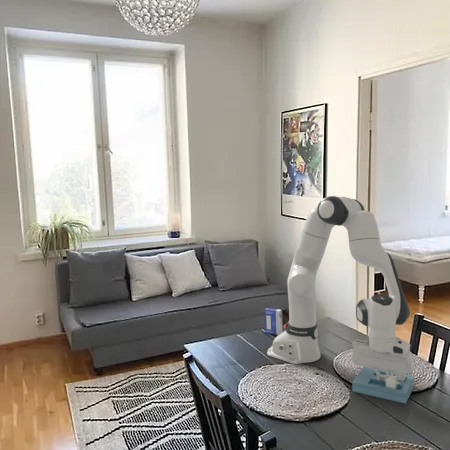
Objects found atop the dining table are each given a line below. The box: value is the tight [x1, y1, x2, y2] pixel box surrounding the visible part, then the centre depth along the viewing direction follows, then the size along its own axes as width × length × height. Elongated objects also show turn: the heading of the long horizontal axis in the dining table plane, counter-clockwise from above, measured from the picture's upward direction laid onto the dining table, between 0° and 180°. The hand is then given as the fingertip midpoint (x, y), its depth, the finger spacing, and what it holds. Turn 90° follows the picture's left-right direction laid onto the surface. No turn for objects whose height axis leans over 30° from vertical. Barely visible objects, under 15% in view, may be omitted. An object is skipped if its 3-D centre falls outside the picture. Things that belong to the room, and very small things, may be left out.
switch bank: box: [351, 366, 415, 404], centre depth 164 cm, size 18×14×4 cm
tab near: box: [386, 374, 397, 389], centre depth 159 cm, size 3×3×5 cm
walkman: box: [263, 307, 283, 336], centre depth 220 cm, size 8×3×12 cm, turn 64°
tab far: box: [394, 372, 407, 382], centre depth 164 cm, size 3×3×5 cm
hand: (382, 380), depth 160 cm, fingers closed
